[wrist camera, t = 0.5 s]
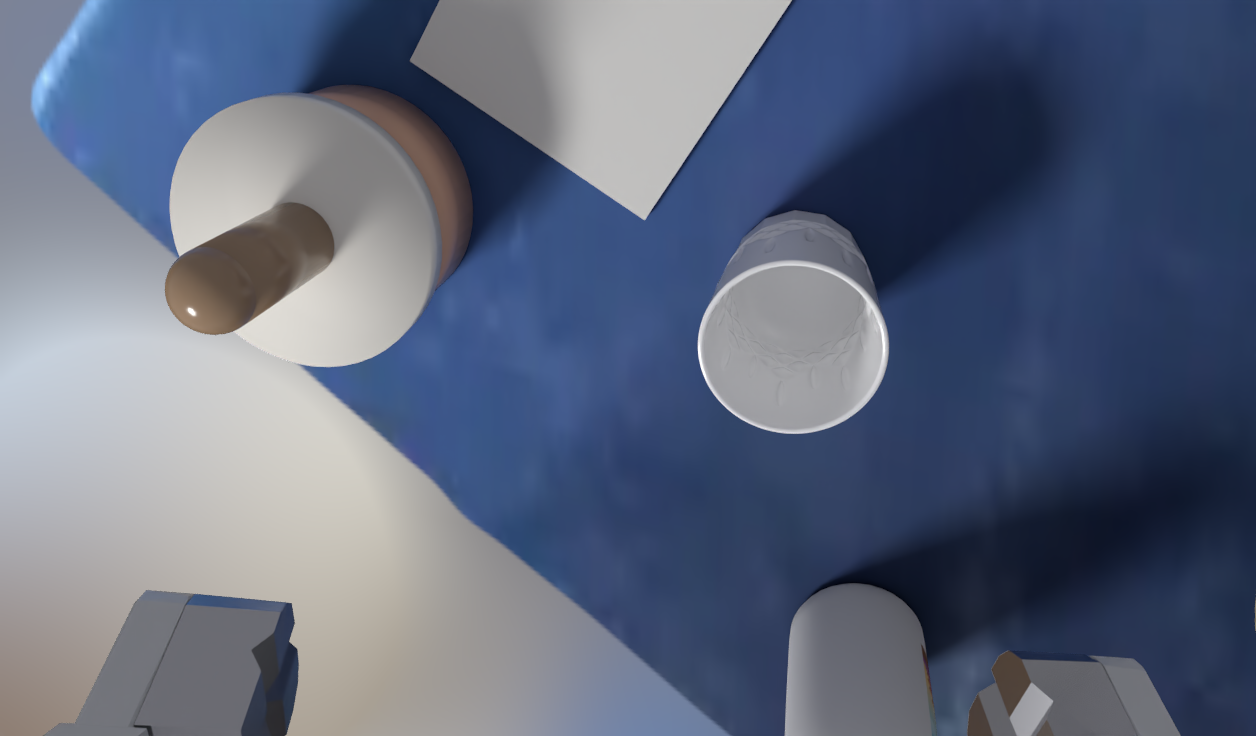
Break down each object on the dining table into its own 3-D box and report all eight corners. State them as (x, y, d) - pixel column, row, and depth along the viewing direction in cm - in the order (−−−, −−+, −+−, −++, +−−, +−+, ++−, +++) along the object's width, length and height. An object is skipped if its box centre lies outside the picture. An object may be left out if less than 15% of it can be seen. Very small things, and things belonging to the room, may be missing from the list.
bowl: (312, 36, 49) (250, 50, 44) (512, 171, 50) (475, 201, 45) (230, 225, 54) (165, 258, 49) (412, 344, 55) (368, 389, 50)
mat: (551, -219, 43) (548, -221, 42) (813, -32, 44) (812, -31, 43) (414, 59, 49) (409, 61, 48) (646, 217, 50) (644, 220, 49)
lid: (244, 34, 44) (88, 63, 34) (489, 198, 45) (401, 269, 35) (153, 260, 49) (-2, 337, 40) (373, 401, 50) (271, 508, 41)
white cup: (755, 174, 48) (738, 231, 39) (904, 232, 48) (922, 303, 39) (698, 312, 52) (671, 393, 43) (837, 367, 51) (840, 460, 42)
